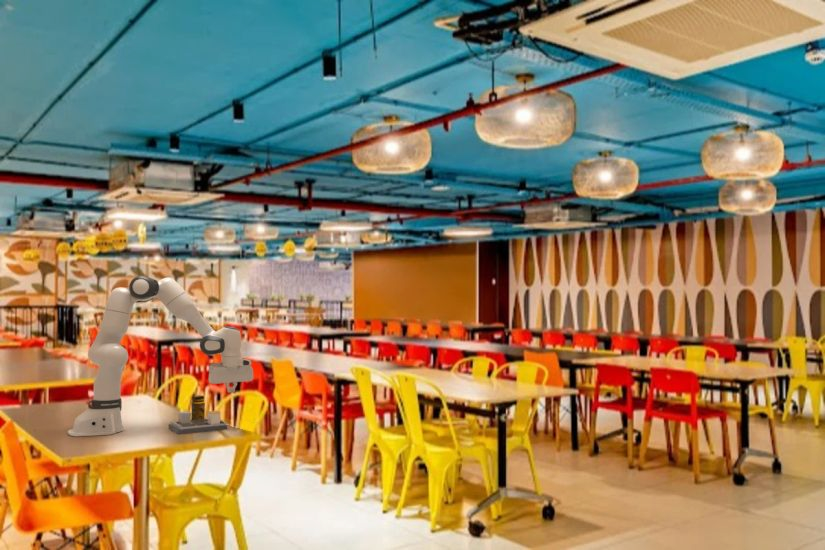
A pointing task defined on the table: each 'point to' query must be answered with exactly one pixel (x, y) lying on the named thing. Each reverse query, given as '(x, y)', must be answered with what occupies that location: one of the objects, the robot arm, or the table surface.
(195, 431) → the grey tray
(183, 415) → the block
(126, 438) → the table surface
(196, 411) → the condiment
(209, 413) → the fader
